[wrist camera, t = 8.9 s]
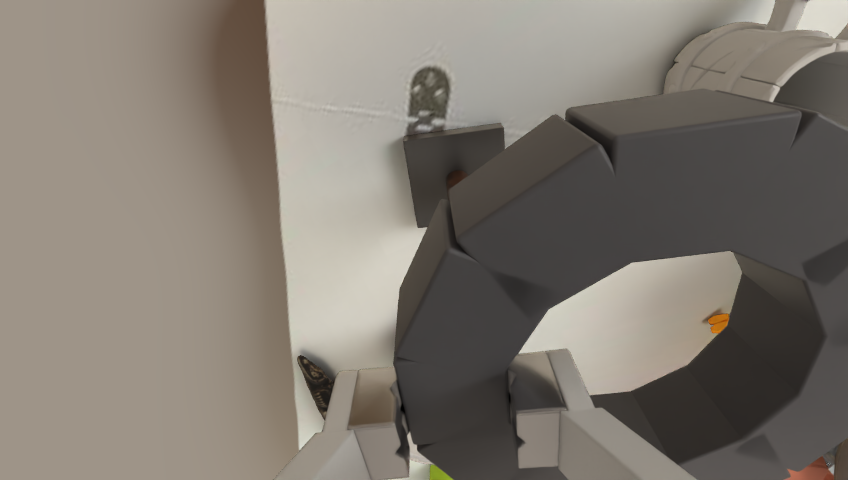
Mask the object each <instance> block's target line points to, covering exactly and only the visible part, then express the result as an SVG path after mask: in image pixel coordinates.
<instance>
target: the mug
mask: <svg viewBox="0 0 848 480" xmlns="http://www.w3.org/2000/svg"><path fill="white" fill-rule="evenodd" d="M807 2H808V0H775V5H774V8H773V12H772V15H771V18H770V21H769V22H768V24H767V25H766V24H759V23H753V22H737V23H731V24H727V25H724V26H721V27H718V28H716V29H712V30H710V32H708V33H707V34H701V35H699V36H698V37H696V38H695V39H693V40H692V41H691V42H690V43H688V44H687V45H686V46H685V47H684V48H683V49H682V51H681V52H680V53H679V54H678V55H677V57H676V58H675V60H674V61H675V62H677V63H675V64H674V66H673V67H672V68H671V69H670V70H669V71H668V73H667V76H666V80H665V85H664V94H668V93H675V92H682V91H689V90H696V89H703V88H704V89H708V90H712V91H715V90H721V91H725V92H730V93H734V94H739V95H743V96H748V97H752V98H757V99H761V100H765V101H770V102H774V103H779V104H783V105H788V106H792V107H797V108H801V109H806V110H810V111H815V112H819V113H821V114H823V115H825V116H826V117H828V118H830V119H832V120H834V121H836V122H838V123H840V124H842V125H844V126H846V127H848V24H847V25H846V27H845V28H844V29H843V30H842V31H841V33H840V34H839V35H838V36H837V37H836V38H835V39H834V38H832V37H831V36H829V35H828V34H827V33H824V32H821V31H812V30H796V28H797V25H798V23H799V21H800V19H801V16H802V14H803V11H804V8H805V6H806V4H807Z"/></svg>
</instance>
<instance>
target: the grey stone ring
mask: <svg viewBox="0 0 848 480" xmlns="http://www.w3.org/2000/svg"><path fill="white" fill-rule="evenodd" d="M448 193H449V199H450V201H448V200H446V199H441V200H440V201H439V204H438V206H437V208H436V210H435V212H434V215H433V217H432V219H431V221H430V223H429V225H428V228H427V230H426V232H425V234H424V236H423V239H422V241H421V243H420V245H419V247H418V250H417V252H416V254H415V256H414V258H413V261H412V263H411V265H410V267H409V269H408V272H407V274H406V276H405V278H404V280H403V283H402V285H401V287H400V291H399V300H398V312H397V324H396V337H395V349H394V362H393V365H394V369H395V373H396V377H397V380H398V384H399V388H400V392H401V396H402V400H403V406H404V410H405V413H406V417H407V421H408V425H409V429H410V434H411V438H412V442H413V444H414V445H417V451H418V452H419V453H420V454H421V455H423V456H424V457H425V458H426V459H428V460H429V461H430V462H431V463H433V464H434V465H435V466H437V467H438V468H439V469H440V470H442V471H443V472H444V473H446V474H447V475H448V476H449V477H451V478H452V479H453V480H568V479H567V478H566V477H565V475H564V474H563V473H562V472H561V471H560V470H559V469H558V466H556V467H537V468H519V466H518V461H517V457H516V452H515V448H514V443H513V435H512V424H511V423H510V417H509V392H508V383H507V368H508V367H509V366H510V364H511V363H512V361H513V360H514V358H515V357H516V355H517V354H518V353H519V351H520V350H521V348H522V347H523V345H524V344H525V342H526V341H527V340H528V338H529V337H530V335H531V334H532V332H533V331H534V330H535V328H536V327H537V325H538V324H539V322H540V321H541V319H542V318H543V317H544V315H545V314H546V312H547V311H548V309H550V308H552V307H553V306H555V305H557V304H559V303H560V302H562V301H564V300H566V299H568V298H569V297H571V296H573V295H575V294H577V293H578V292H580V291H582V290H584V289H585V288H587V287H589V286H591V285H593V284H594V283H596V282H598V281H600V280H601V279H603V278H605V277H607V276H609V275H610V274H612V273H614V272H616V271H618V270H619V269H621V268H623V267H625V266H626V265H628V264H630V263H632V262H641V261H649V260H657V259H666V258H674V257H682V256H691V255H699V254H707V253H715V252H724V251H731V252H733V253H734V255H735V257H736V259H737V261H738V264H739V266H740V268H741V270H742V275H741V279H740V282H739V286H738V289H737V293H736V296H735V300H734V303H733V306H732V310H731V313H730V317H729V320H728V324H727V326H726V327H725V328H724V329H723V330H722V331H721V332H720V333H719V334H718V335H717V336H716V337H715V338H714V339H713V340H712V341H711V342H710V343H709V344H708V345H707V346H706V347H705V348H704V349H703V350H702V351H701V352H700V353H699V354H698V355H697V356H696V357H695V358H694V359H693V360H692V361H691V362H690V363H689V364H688V365H687V366H685V367H683V368H680V369H678V370H676V371H674V372H672V373H670V374H667V375H665V376H663V377H661V378H659V379H657V380H654V381H652V382H650V383H648V384H646V385H644V386H641V387H639V388H637V389H635V390H633V391H631V392H621V393H611V394H601V395H591V396H590V398H591V400H592V403H593V405H594V407H595V408H603V409H604V410H606V411H607V412H608V413H610V414H611V415H612V416H614V417H615V418H616V419H618V420H619V421H620V422H622V423H623V424H624V425H626V426H627V427H628V428H630V429H631V430H632V431H634V432H635V433H636V434H637V435H639V436H640V437H641V438H643V439H644V440H645V441H647V442H648V443H649V444H651V445H652V446H653V447H655V448H656V449H657V450H659V451H660V452H661V453H663V454H664V455H665V456H667V457H668V458H669V459H671V460H672V461H673V462H674V463H676V464H677V465H678V466H680V467H681V468H682V469H684V470H685V471H686V472H688V473H689V474H690V475H692V476H693V477H694V478H696V479H697V480H784V479H787V478H790V477H791V475H790V473H789V471H788V470H787V469H790V470H793V471H796V472H798V471H801V470H803V469H804V468H806V467H807V466H808V465H810V464H811V463H813V462H814V461H816V460H817V459H818V458H820V457H821V456H823V455H824V454H826V453H827V452H828V451H830V450H831V449H833V448H834V447H835V446H837V445H838V444H840V443H841V442H843V441H844V440H845V439H847V438H848V127H846V126H844V125H842V124H840V123H838V122H836V121H834V120H832V119H830V118H828V117H826V116H825V115H823V114H821V113H819V112H815V111H810V110H806V109H801V108H797V107H792V106H788V105H783V104H779V103H774V102H770V101H765V100H761V99H757V98H752V97H748V96H743V95H739V94H734V93H730V92H725V91H721V90H715V91H712V90H708V89H704V88H703V89H696V90H689V91H682V92H675V93H668V94H661V95H654V96H647V97H640V98H634V99H627V100H620V101H613V102H606V103H599V104H592V105H585V106H578V107H571V108H569V109H567V110H566V118H565V120H564V119H562V118H561V117H559V116H558V115H556V114H555V115H552V116H551V117H549V118H548V119H547V120H545V121H544V122H542V123H541V124H540V125H538V126H537V127H535V128H534V129H533V130H531V131H530V132H528V133H527V134H526V135H524V136H523V137H522V138H520V139H519V140H517V141H516V142H515V143H513V144H512V145H510V146H509V147H508V148H506V149H505V150H504V151H502V152H501V153H499V154H498V155H497V156H495V157H494V158H492V159H491V160H490V161H488V162H487V163H485V164H484V165H483V166H481V167H480V168H479V169H477V170H476V171H474V172H473V173H472V174H470V175H469V176H467V177H466V178H465V179H463V180H462V181H460V182H459V183H458V184H456V185H455V186H454V187H452V188H451V189H450V190H449V191H448Z"/></svg>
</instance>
